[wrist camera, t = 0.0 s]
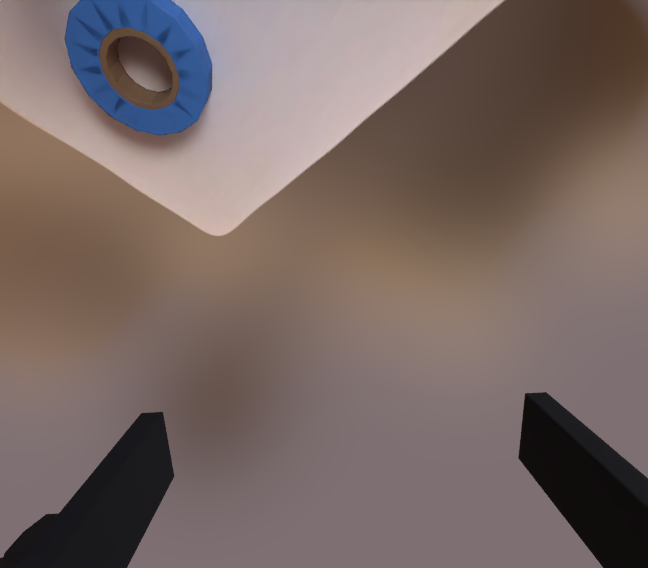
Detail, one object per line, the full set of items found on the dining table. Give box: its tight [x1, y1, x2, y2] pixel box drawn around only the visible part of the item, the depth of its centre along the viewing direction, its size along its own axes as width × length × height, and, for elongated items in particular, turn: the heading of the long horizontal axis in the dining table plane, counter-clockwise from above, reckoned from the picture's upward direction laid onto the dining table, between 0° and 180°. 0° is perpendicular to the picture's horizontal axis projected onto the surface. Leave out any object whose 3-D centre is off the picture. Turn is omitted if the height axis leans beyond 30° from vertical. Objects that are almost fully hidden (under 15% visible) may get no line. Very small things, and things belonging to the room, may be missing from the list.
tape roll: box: [65, 0, 212, 135], centre depth 34 cm, size 12×12×3 cm
